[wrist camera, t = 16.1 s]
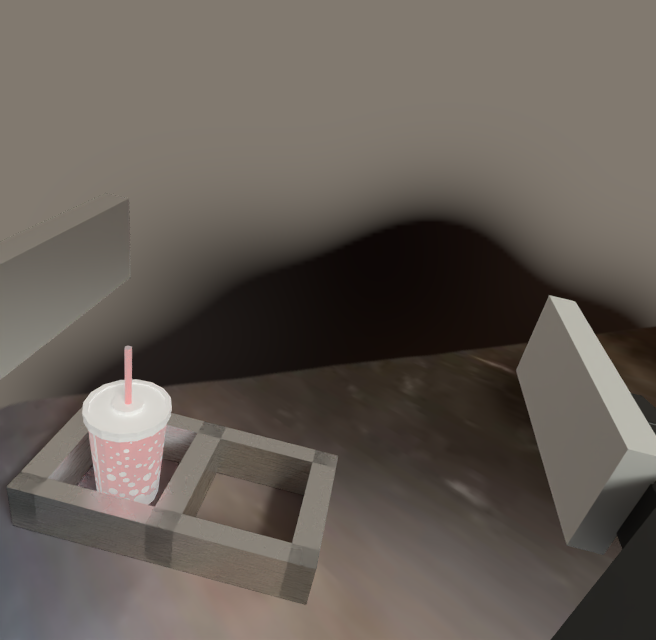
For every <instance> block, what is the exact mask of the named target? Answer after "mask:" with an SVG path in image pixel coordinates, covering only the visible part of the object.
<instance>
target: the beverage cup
mask: <svg viewBox="0 0 656 640" xmlns="http://www.w3.org/2000/svg"><path fill="white" fill-rule="evenodd" d="M171 411H172V405H171V397H170V396H169V395H168V393H167V392H166V391H165V390H164V389H163V388H162V387H160V386H158V385H156V384H154V383H152V382H147V381H142V380H137V379H135V380H132V347H131V346H125V380H119V381H115V382H112V383H108V384H104V385H102V386H101V387H99V388H97V389H96V390H94V391H92V392H91V393H90V394H89V396H88V397H87V398H86V399H85V401H84V402H83V410H82V416H83V422H84V424H85V426H86V427H87V429H88V432H89V439H90V446H91V453H92V460H93V467H94V474H95V481H96V488H97V491H98V492H101V493H105V494H109V495H113V496H116V497H120V498H124V499H128V500H132V501H135V502H139V503H143V504H147V505H149V504H150V503H151V502H152V501H153V500H154V498H155V496H156V494H157V492H158V487H159V479H160V471H161V463H162V455H163V448H164V440H165V432H166V424H167V422H168V421H169V419H170V417H171Z"/></svg>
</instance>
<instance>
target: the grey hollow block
mask: <svg viewBox="0 0 656 640" xmlns="http://www.w3.org/2000/svg"><path fill="white" fill-rule="evenodd" d="M82 410H83V406H82V408H81V409H80V410H79V411H78V412H77V413H76V414H75V415H74V416H73V417H72V418H71V419H70V420H69V421H68V422H67V423H66V424H65V425H64V427H63V428H62V429H61V430H60V431H59V432H58V433H57V434H56V435H55V436H54V437H53V438H52V439H51V440H50V441H49V442H48V443H47V444H46V446H45V447H44V448H43V449H42V450H41V451H40V452H39V453H38V454H37V455H36V456H35V457H34V458H33V459H32V460H31V461H30V462H29V464H28V465H27V466H26V467H25V468H24V469H23V470H22V471H21V472H20V473H19V474H18V475H17V476H16V477H15V478H14V479H13V480H12V481H11V483H10V484H9V485H8V486H7V487H6V488H7V494H8V500H9V505H10V511H11V517H12V523H13V526H17V527H21V528H25V529H28V530H32V531H36V532H39V533H43V534H47V535H50V536H54V537H58V538H61V539H65V540H69V541H73V542H76V543H80V544H84V545H87V546H91V547H95V548H98V549H102V550H106V551H110V552H113V553H117V554H121V555H124V556H128V557H132V558H135V559H139V560H143V561H147V562H150V563H154V564H158V565H161V566H165V567H169V568H172V569H176V570H180V571H183V572H187V573H191V574H195V575H198V576H202V577H206V578H209V579H213V580H217V581H220V582H224V583H228V584H232V585H235V586H239V587H243V588H246V589H250V590H254V591H257V592H261V593H265V594H268V595H272V596H276V597H280V598H283V599H287V600H291V601H294V602H298V603H302V604H305V605H306V604H307V600H308V597H309V593H310V589H311V586H312V582H313V579H314V575H315V572H316V568H317V563H318V557H319V552H320V547H321V542H322V537H323V532H324V527H325V521H326V516H327V511H328V506H329V501H330V496H331V491H332V485H333V480H334V475H335V470H336V465H337V460H338V456H337V455H333V454H329V453H325V452H322V451H318V450H314V449H310V448H306V447H302V446H298V445H294V444H290V443H286V442H283V441H279V440H275V439H271V438H267V437H263V436H259V435H255V434H251V433H247V432H244V431H240V430H236V429H232V428H228V427H224V426H220V425H216V424H212V423H208V422H205V421H201V420H197V419H193V418H189V417H185V416H181V415H177V414H173V413H171V417H170V419H169V421H168V422H167V424H166V432H165V440H164V448H163V455H162V458H163V459H167V460H171V461H175V462H179V463H180V464H179V466H178V468H177V469H176V471H175V473H174V475H173V476H172V478H171V480H170V481H169V483H168V485H167V487H166V488H165V490H164V492H163V494H162V495H161V497H160V499H159V501H158V502H157V504H156V506H155V507H154V506H150V505H147V504H143V503H139V502H135V501H132V500H128V499H124V498H120V497H116V496H113V495H109V494H105V493H101V492H98V491H94V490H90V489H86V488H83V487H79V486H76V485H77V483H78V482H79V481H80V480H81V478H82V477H83V476H84V475H85V473H86V472H87V471H88V469H89V468H90V467H91V466H92V464H93V460H92V453H91V446H90V439H89V432H88V429H87V427H86V426H85V424H84V422H83V416H82ZM216 473H221V474H225V475H229V476H232V477H236V478H240V479H244V480H248V481H252V482H255V483H259V484H263V485H267V486H271V487H275V488H278V489H282V490H286V491H290V492H294V493H298V494H301V495H304V498H303V502H302V506H301V510H300V514H299V518H298V522H297V525H296V529H295V533H294V537H293V541H292V543H290V542H286V541H282V540H279V539H275V538H271V537H267V536H263V535H260V534H256V533H252V532H248V531H245V530H241V529H237V528H233V527H230V526H226V525H222V524H218V523H214V522H211V521H207V520H203V519H199V518H196V514H197V512H198V510H199V508H200V506H201V504H202V502H203V500H204V498H205V496H206V493H207V491H208V489H209V487H210V485H211V483H212V481H213V479H214V477H215V475H216Z"/></svg>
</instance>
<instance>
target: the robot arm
mask: <svg viewBox="0 0 656 640" xmlns="http://www.w3.org/2000/svg"><path fill="white" fill-rule="evenodd" d="M128 279H130V217H129V198H125V197H121V196H116V195H112V194H108V193H105V194H103V195H101V196H98V197H96V198H94V199H92V200H90V201H88V202H85V203H83V204H81V205H79V206H76V207H74V208H72V209H70V210H68V211H66V212H63V213H61V214H59V215H57V216H55V217H52V218H50V219H48V220H46V221H44V222H41V223H39V224H37V225H35V226H33V227H31V228H28V229H26V230H24V231H22V232H20V233H18V234H16V235H13V236H11V237H9V238H6V239H4V240H2V241H0V379H2V378H3V377H5V376H6V375H7V374H9V373H10V372H11V371H12V370H14V369H15V368H16V367H17V366H19V365H20V364H21V363H22V362H24V361H25V360H26V359H28V358H29V357H30V356H31V355H33V354H34V353H35V352H36V351H38V350H39V349H40V348H42V347H43V346H44V345H45V344H47V343H48V342H49V341H50V340H52V339H53V338H54V337H56V336H57V335H58V334H59V333H61V332H62V331H63V330H65V329H66V328H67V327H68V326H70V325H71V324H72V323H73V322H75V321H76V320H77V319H78V318H80V317H81V316H82V315H84V314H85V313H86V312H87V311H89V310H90V309H91V308H92V307H94V306H95V305H96V304H98V303H99V302H100V301H101V300H103V299H104V298H105V297H107V296H108V295H109V294H110V293H111V292H113V291H114V290H115V289H117V288H118V287H119V286H121V285H122V284H123V283H124V282H126V281H127V280H128ZM516 372H517V375H518V379H519V382H520V386H521V389H522V392H523V396H524V399H525V403H526V406H527V410H528V413H529V417H530V420H531V424H532V427H533V430H534V434H535V437H536V441H537V444H538V448H539V451H540V455H541V458H542V461H543V465H544V468H545V472H546V475H547V479H548V482H549V486H550V489H551V493H552V496H553V499H554V503H555V506H556V510H557V513H558V517H559V520H560V524H561V527H562V530H563V534H564V537H565V541H566V544H567V546H571V547H575V548H579V549H583V550H587V551H591V552H595V553H598V554H602V555H604V553H605V552H606V550H607V549H608V548H609V546H610V545H611V543H612V542H613V541H614V539H615V538H616V536H618V539H619V541H620V544H621V546H622V549H623V550H622V551H621V552H620V553H619V555H618V556H617V557H616V558H615V560H614V561H613V562H612V563H611V565H610V566H609V567H608V568H607V570H606V571H605V572H604V573H603V575H602V576H601V577H600V578H599V580H598V581H597V582H596V583H595V585H594V586H593V587H592V589H591V590H590V591H589V592H588V594H587V595H586V596H585V597H584V599H583V600H582V601H581V602H580V604H579V605H578V606H577V607H576V609H575V610H574V611H573V612H572V614H571V615H570V616H569V617H568V619H567V620H566V621H565V623H564V624H563V625H562V626H561V628H560V629H559V630H558V631H557V633H556V634H555V635H554V636H553V638H552V639H551V640H656V408H655V407H654V406H653V405H652V404H650V403H649V402H648V401H647V400H646V399H645V398H644V397H643V396H641V395H636V394H632V393H630V392H629V390H628V388H627V387H626V385H625V383H624V382H623V380H622V378H621V377H620V375H619V373H618V372H617V370H616V368H615V367H614V365H613V363H612V362H611V360H610V359H609V357H608V355H607V354H606V352H605V350H604V349H603V347H602V345H601V344H600V342H599V340H598V339H597V337H596V335H595V334H594V332H593V331H592V329H591V327H590V325H589V324H588V322H587V320H586V319H585V317H584V315H583V314H582V312H581V310H580V309H579V307H578V305H577V304H576V302H575V301H571V300H567V299H563V298H558V297H554V296H549V297H548V300H547V302H546V304H545V307H544V309H543V311H542V313H541V315H540V318H539V320H538V322H537V325H536V327H535V329H534V331H533V333H532V336H531V338H530V340H529V342H528V345H527V347H526V349H525V351H524V354H523V356H522V358H521V360H520V363H519V365H518V367H517V369H516Z"/></svg>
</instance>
